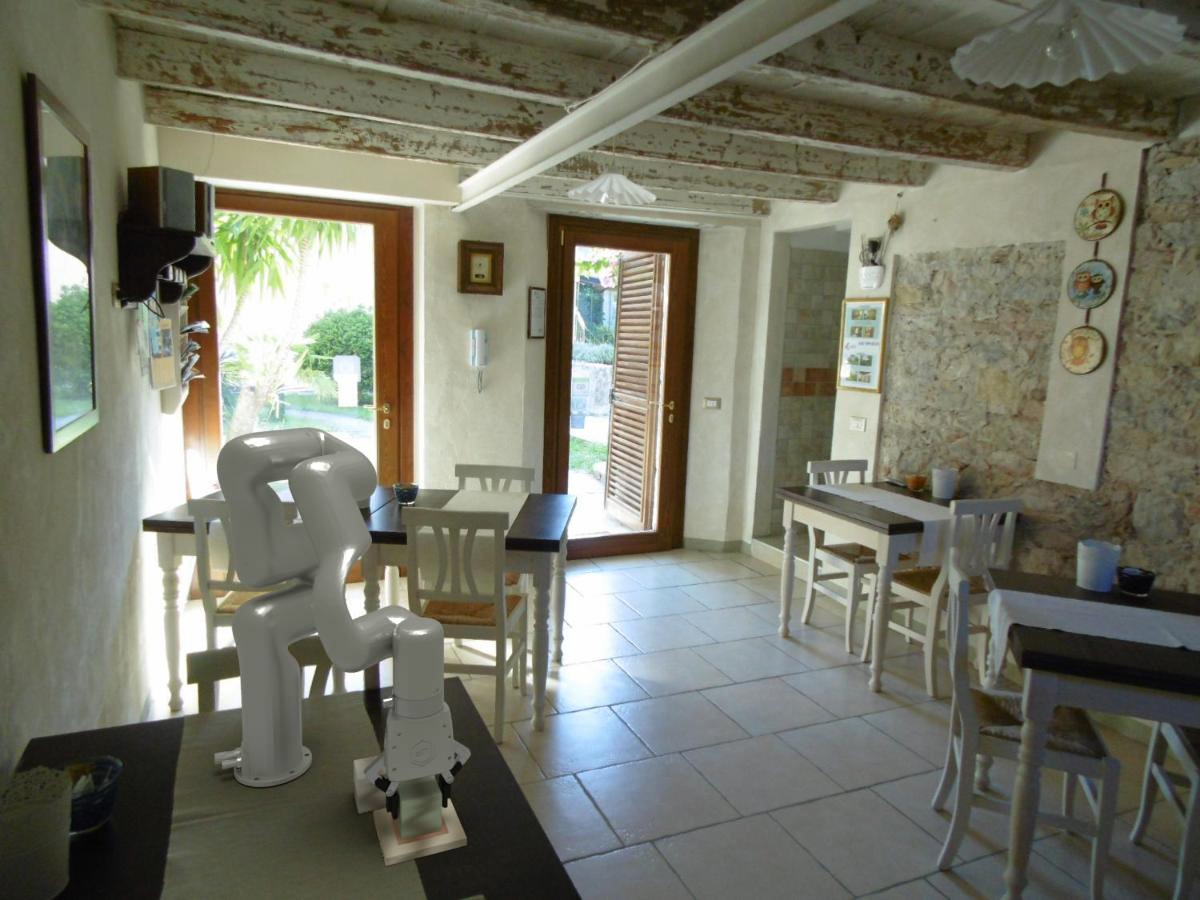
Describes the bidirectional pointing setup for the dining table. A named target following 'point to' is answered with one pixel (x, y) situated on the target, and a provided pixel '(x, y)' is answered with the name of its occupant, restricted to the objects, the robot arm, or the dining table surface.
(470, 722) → the dining table surface
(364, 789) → the cream block
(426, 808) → the sage block
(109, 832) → the dining table surface
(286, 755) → the robot arm
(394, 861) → the board
